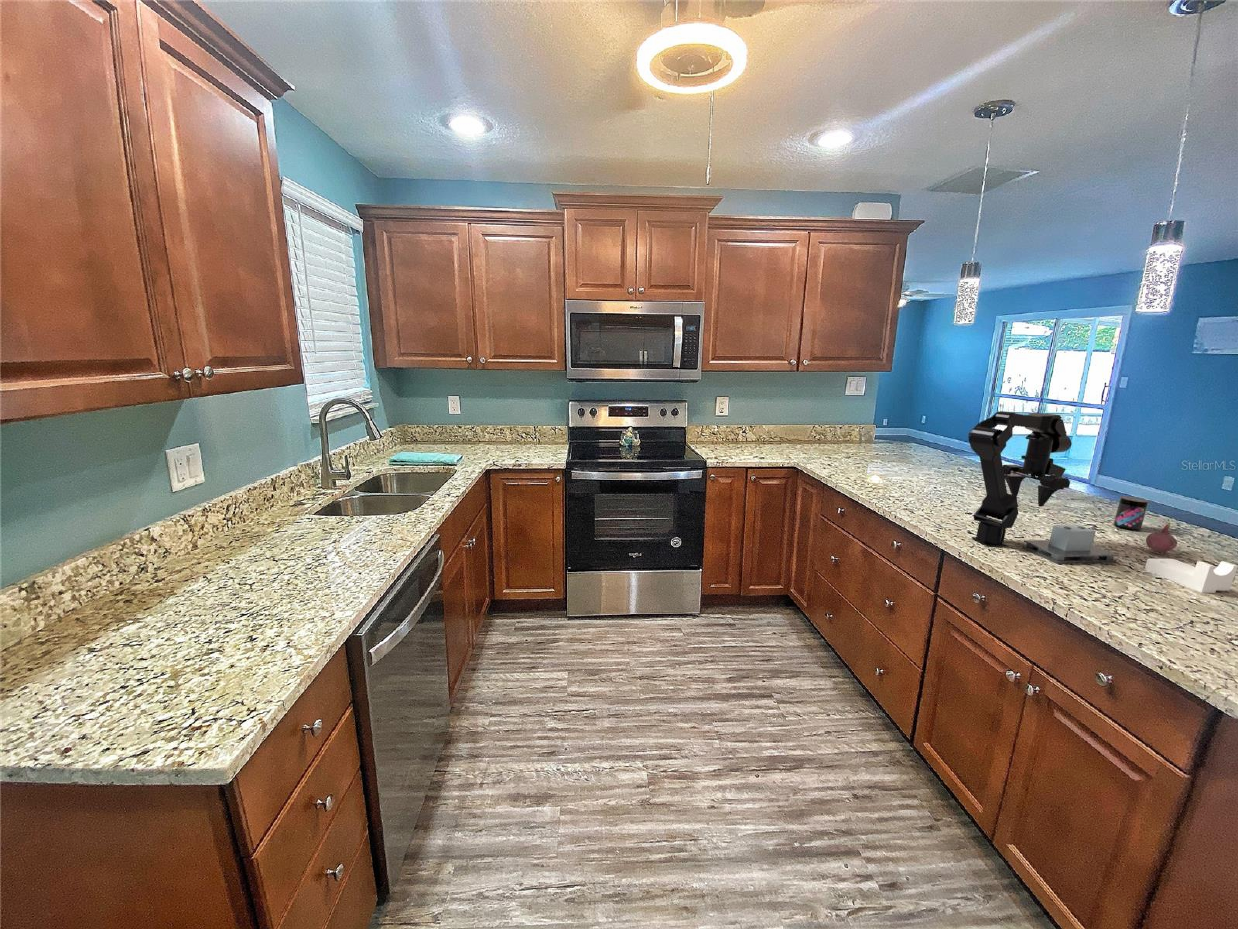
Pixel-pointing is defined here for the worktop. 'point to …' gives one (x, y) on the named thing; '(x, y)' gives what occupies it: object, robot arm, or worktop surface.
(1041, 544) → the stand
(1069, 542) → the housing
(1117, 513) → the supplement container
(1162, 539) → the vegetable
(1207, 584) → the bracket
